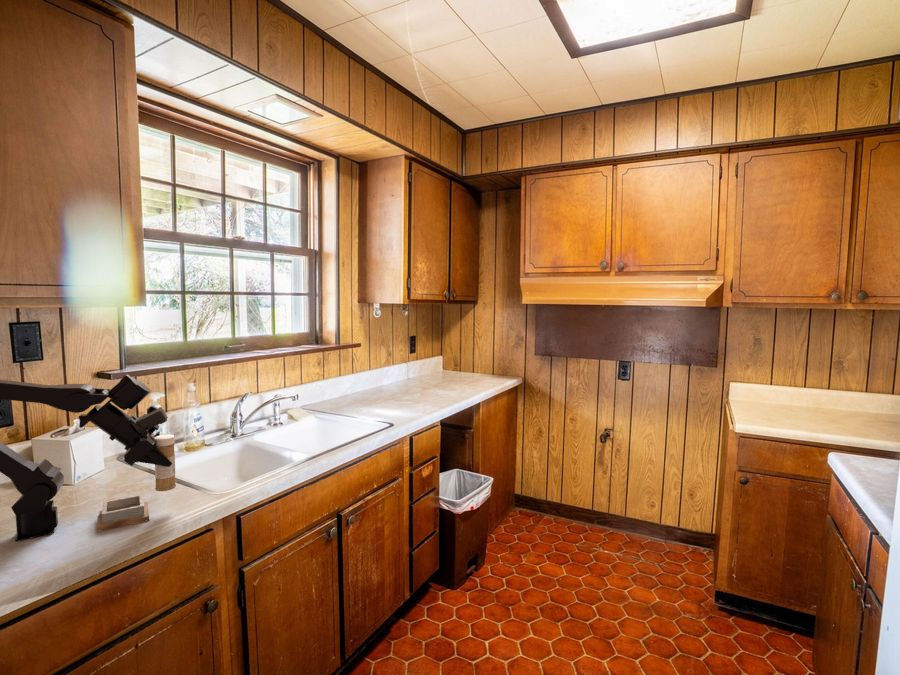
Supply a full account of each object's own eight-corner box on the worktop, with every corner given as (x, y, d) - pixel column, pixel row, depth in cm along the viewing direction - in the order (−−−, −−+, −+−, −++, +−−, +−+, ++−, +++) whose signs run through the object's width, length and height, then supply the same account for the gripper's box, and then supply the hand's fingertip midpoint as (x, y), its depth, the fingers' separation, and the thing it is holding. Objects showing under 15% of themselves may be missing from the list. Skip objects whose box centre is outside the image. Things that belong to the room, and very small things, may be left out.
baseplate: (97, 531, 109) (97, 527, 109) (99, 514, 117) (99, 510, 117) (149, 520, 115) (149, 516, 114) (147, 505, 123) (147, 501, 123)
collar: (102, 524, 110) (102, 514, 110) (103, 511, 117) (103, 501, 117) (144, 515, 115) (144, 505, 115) (143, 503, 121) (143, 494, 121)
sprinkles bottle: (160, 485, 122) (159, 433, 121) (179, 485, 122) (178, 433, 121) (151, 492, 117) (149, 439, 116) (170, 492, 118) (169, 438, 117)
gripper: (139, 406, 108) (195, 447, 114) (148, 391, 124) (197, 428, 130) (98, 444, 105) (158, 485, 111) (112, 424, 121) (164, 460, 127)
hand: (171, 462), depth 120 cm, fingers closed on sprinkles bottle, 4 cm apart
